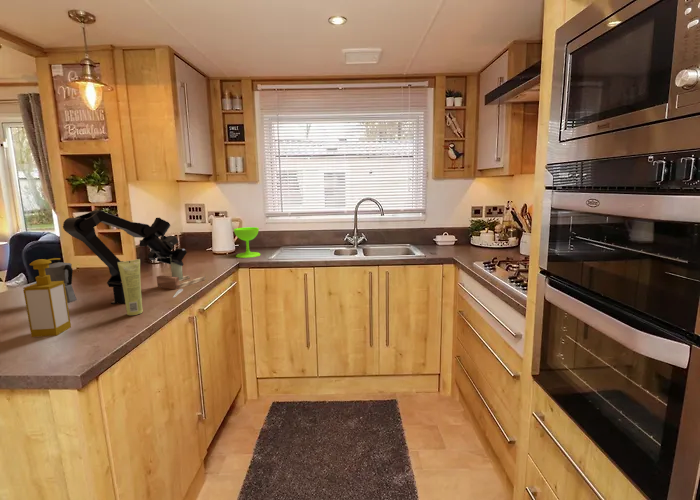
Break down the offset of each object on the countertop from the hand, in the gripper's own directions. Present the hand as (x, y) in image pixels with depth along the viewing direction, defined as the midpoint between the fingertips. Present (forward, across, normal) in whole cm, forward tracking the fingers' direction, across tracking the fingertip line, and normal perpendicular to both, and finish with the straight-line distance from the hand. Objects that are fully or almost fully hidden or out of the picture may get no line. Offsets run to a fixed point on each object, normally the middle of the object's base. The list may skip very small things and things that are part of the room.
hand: (178, 264), depth 175 cm
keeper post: (+4, 0, +6) cm, 7 cm away
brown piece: (+7, 0, +6) cm, 9 cm away
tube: (-20, -18, +34) cm, 43 cm away
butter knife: (-6, -16, +20) cm, 26 cm away
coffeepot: (-19, +24, +33) cm, 45 cm away
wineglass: (+57, +16, -45) cm, 74 cm away
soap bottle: (-33, -7, +48) cm, 59 cm away
